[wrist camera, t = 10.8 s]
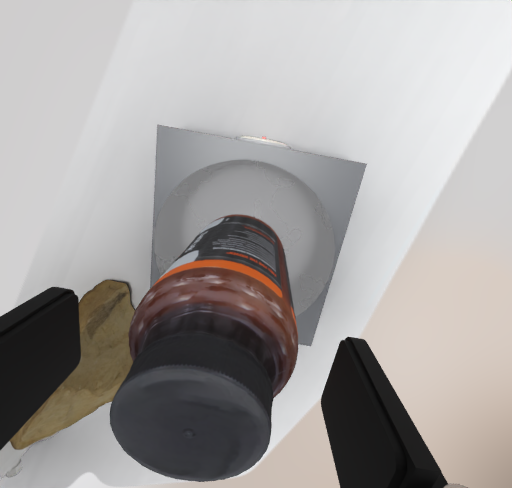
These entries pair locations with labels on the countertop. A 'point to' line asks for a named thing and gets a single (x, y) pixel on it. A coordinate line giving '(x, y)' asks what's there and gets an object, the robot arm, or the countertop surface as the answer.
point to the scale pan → (255, 205)
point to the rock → (88, 364)
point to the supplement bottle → (209, 355)
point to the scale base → (272, 152)
